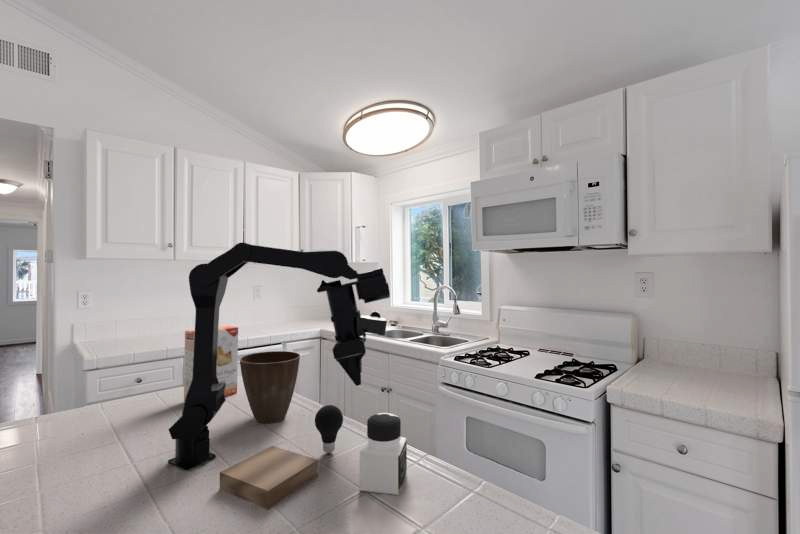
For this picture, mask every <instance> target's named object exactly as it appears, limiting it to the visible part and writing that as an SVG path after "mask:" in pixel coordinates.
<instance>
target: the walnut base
mask: <svg viewBox="0 0 800 534" xmlns="http://www.w3.org/2000/svg"><path fill="white" fill-rule="evenodd" d="M318 476H319V459H317V458H314V457H311V456H307V455H305V454H304V455H303V454H301V453H297V452H295V451H290V450H289V449H288V450H287V449H284V448H281V447H278V446H275V445H271V446H269V447H267V448H265V449H263V450H261V451H259V452H257V453H255V454H253V455H251V456H249V457H246V458H245V459H242V460H241V461H239V462H237V463H234V464H233V465H231V466H229V467H227V468H225V469H224V470H221V471H219V490H220V491H223V492H225V493H227V494H229V495H232V496H235V497H237V498H239V499H241V500H244V501H246V502H249V503H252V504H253V505H256V506H259V507H260V508H263V509H265V510H269V509H271V508H272V507H274V506H276V505H277V504H278V503H281V501H283V500H285V499H286V498H287V497H289V496H290V495H293V493H295V492H297V491H299V489H301V488H302V487H304V486H305V485H306V484H308V483H310V482H311V481H312V480H314V479H315V478H317V477H318Z"/></svg>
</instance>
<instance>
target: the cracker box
mask: <svg viewBox="0 0 800 534" xmlns="http://www.w3.org/2000/svg"><path fill="white" fill-rule="evenodd" d="M194 336H195V329H190V330H189V329H188V330H185V331H184V366H183V367H184V372H183V373H184V374H183V377H184V379H183V385H184V386H183V402H184V403H185V398H186V395H187V393H188V390H189V387H190V384H191V382H192V377H193V357H194ZM238 350H239V327H238V326H235V325H233V326H232V325H223V326H218V346H217V367H216V376H217V379H218V382H219V383H226V386H225V390H224V397H225V398H226V397H228V396H231V395H235V394H237V393H238V363H239V362H238V359H239V358H238V356H239V351H238Z"/></svg>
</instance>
